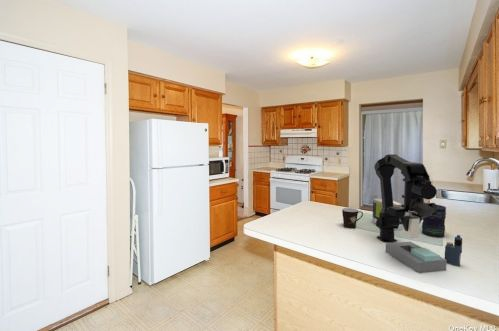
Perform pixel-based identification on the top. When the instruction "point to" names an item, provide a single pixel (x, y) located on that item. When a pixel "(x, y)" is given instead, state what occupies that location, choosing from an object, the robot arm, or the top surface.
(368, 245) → the top surface
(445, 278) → the top surface
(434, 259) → the teal rectangular block
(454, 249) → the vaping device
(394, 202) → the tea box
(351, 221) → the coffee mug
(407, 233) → the grey tall block
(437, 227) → the storage jar
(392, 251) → the socket
